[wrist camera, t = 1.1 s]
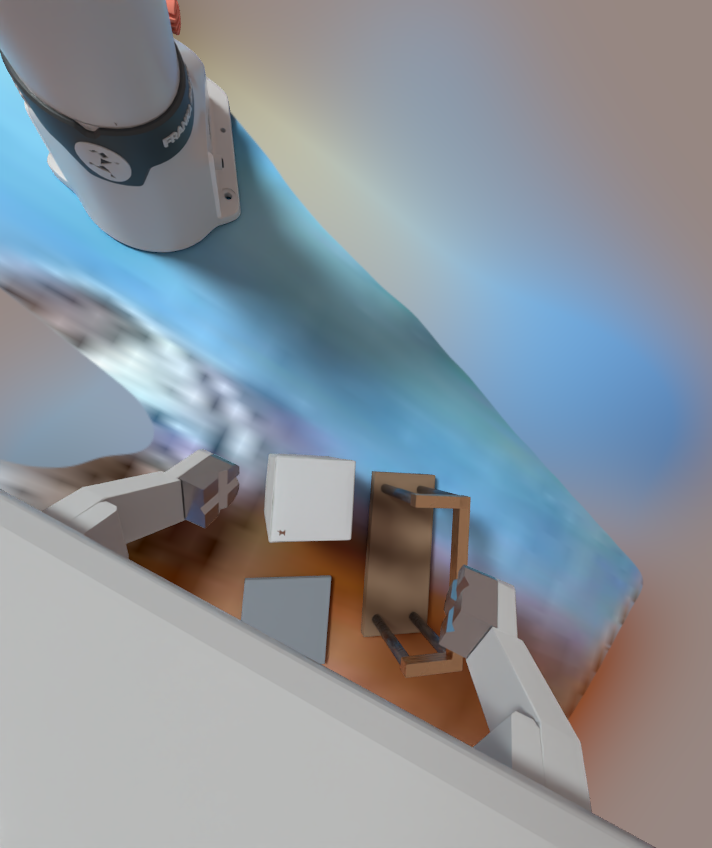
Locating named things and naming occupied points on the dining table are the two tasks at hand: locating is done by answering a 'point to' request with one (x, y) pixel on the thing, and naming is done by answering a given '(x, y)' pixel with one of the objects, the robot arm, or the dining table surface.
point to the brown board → (397, 555)
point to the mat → (290, 611)
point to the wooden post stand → (459, 557)
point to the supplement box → (309, 498)
